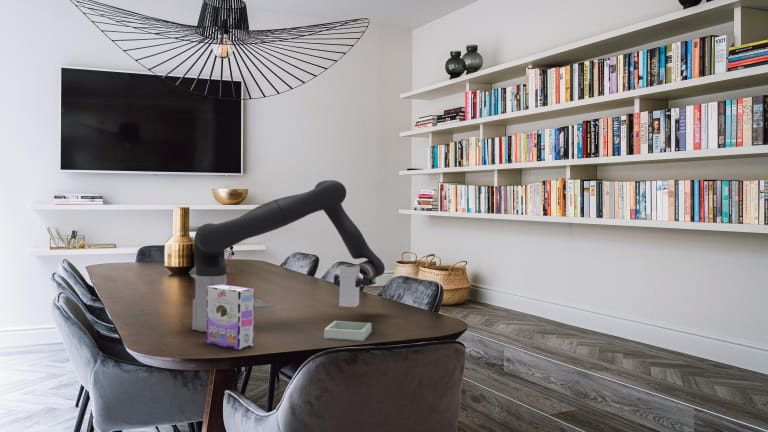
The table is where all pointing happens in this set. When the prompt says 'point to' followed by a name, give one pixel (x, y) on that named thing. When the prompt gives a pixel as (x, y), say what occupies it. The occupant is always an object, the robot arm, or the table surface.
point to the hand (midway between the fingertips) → (347, 283)
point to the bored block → (349, 286)
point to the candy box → (230, 316)
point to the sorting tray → (347, 331)
